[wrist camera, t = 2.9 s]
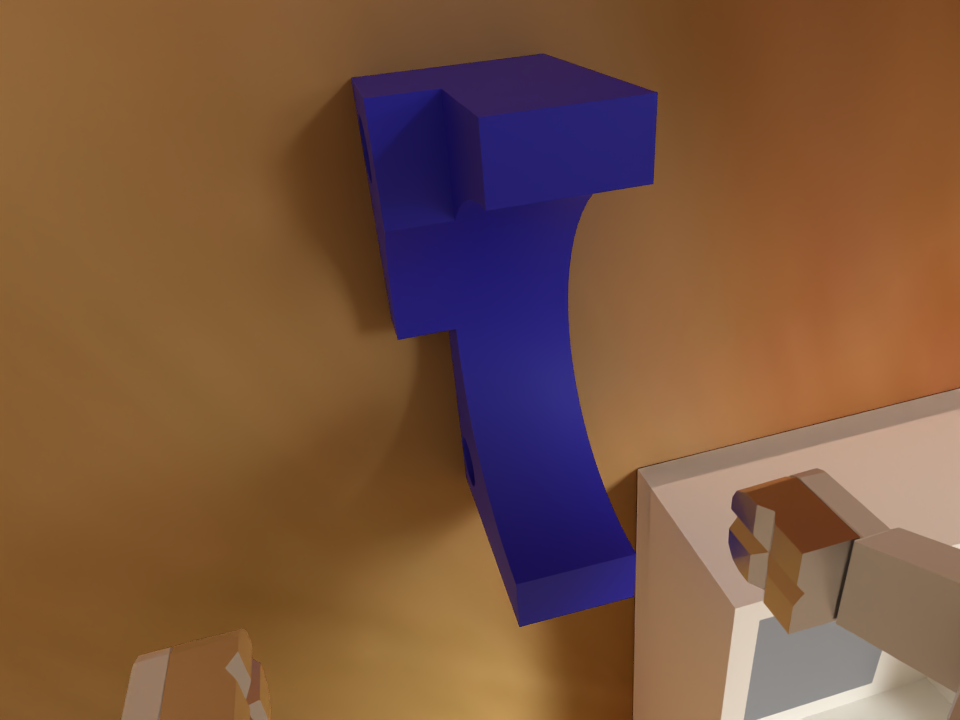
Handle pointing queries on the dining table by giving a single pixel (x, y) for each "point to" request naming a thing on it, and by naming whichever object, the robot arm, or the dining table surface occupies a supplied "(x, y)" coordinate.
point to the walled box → (739, 605)
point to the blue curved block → (509, 290)
